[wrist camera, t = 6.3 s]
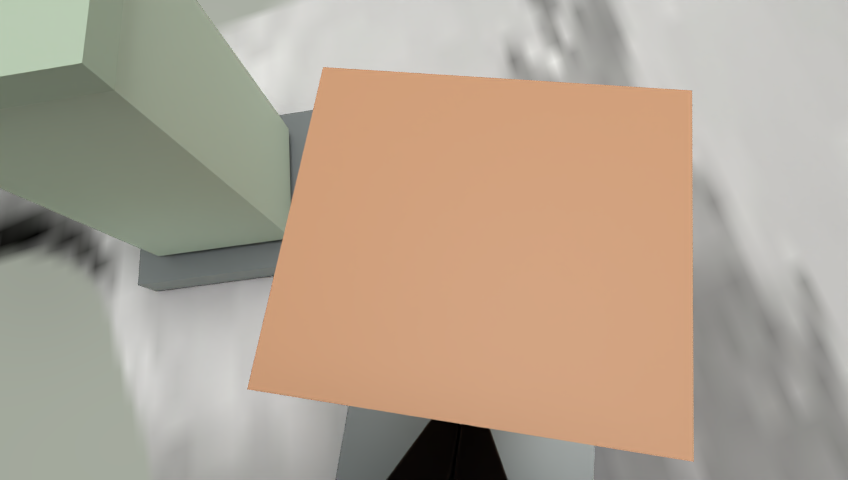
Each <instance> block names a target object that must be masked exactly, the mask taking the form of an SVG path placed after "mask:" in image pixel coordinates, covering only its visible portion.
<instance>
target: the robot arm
mask: <svg viewBox="0 0 848 480" xmlns="http://www.w3.org/2000/svg"><path fill="white" fill-rule="evenodd" d="M386 480H508V478H507V475H506V472H505V470H504V467H503V464H502V461H501V458H500V456H499V453H498V450H497V447H496V444H495V442H494V439H493V436H492V433H491V430H490V429H489V428H483V427H477V426H471V425H465V424H459V423H452V422H446V421H440V420H434V419H431V420H430V421H429V423H428V424H427V425H426V427H425V428H424V429H423V431H422V432H421V433H420V435H419V436H418V437H417V439H416V440H415V441H414V443H413V444H412V445H411V447H410V448H409V449H408V451H407V452H406V453H405V455H404V456H403V457H402V459H401V460H400V461H399V463H398V464H397V465H396V467H395V468H394V469H393V471H392V472H391V473H390V475H389V476H388V477H387V479H386Z"/></svg>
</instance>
